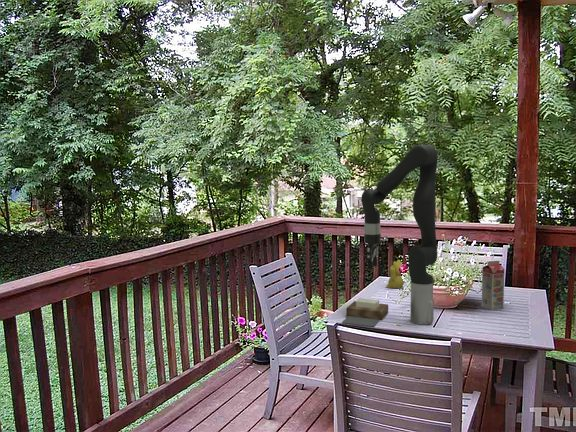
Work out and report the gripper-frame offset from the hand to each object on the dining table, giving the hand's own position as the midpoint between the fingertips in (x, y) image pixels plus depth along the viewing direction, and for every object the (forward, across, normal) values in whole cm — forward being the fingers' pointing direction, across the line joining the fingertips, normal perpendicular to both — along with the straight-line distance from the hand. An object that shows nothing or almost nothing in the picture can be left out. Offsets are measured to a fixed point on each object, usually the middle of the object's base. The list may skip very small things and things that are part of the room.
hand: (372, 267), depth 229 cm
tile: (+15, -8, 0) cm, 17 cm away
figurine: (+20, +46, -1) cm, 50 cm away
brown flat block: (+20, -8, 0) cm, 22 cm away
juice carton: (+20, +24, -51) cm, 60 cm away
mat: (+20, -20, 0) cm, 28 cm away
